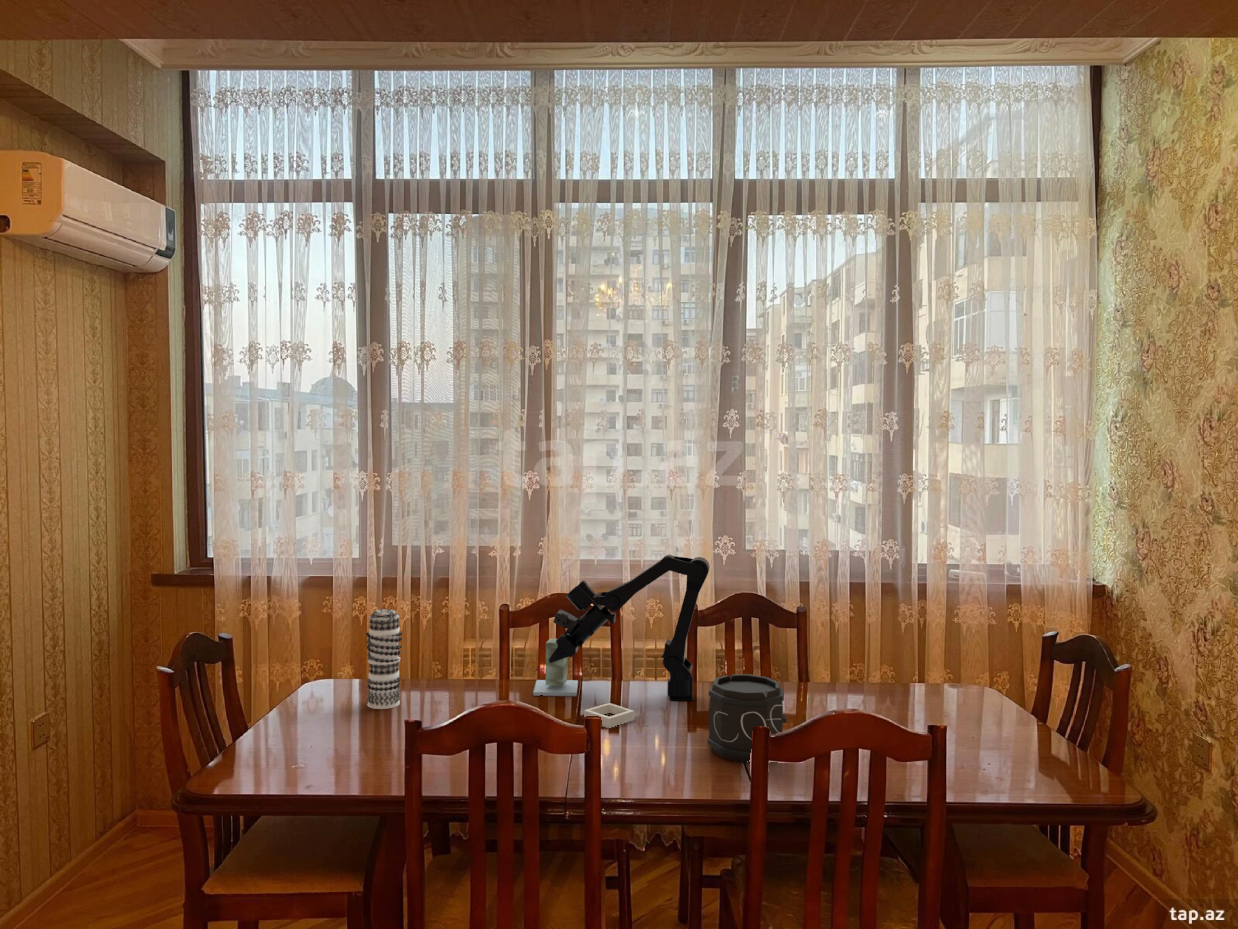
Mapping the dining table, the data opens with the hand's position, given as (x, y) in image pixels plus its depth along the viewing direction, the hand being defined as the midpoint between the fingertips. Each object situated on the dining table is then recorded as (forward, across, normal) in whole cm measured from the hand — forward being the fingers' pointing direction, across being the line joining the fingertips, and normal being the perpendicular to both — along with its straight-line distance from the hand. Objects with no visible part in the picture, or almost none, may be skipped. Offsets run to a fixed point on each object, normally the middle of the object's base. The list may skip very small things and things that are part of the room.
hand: (551, 659), depth 247 cm
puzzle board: (-8, +23, +21) cm, 32 cm away
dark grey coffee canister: (-33, +37, +46) cm, 68 cm away
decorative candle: (+35, +22, -22) cm, 47 cm away
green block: (+4, 0, +6) cm, 7 cm away
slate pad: (+5, 0, +7) cm, 9 cm away
